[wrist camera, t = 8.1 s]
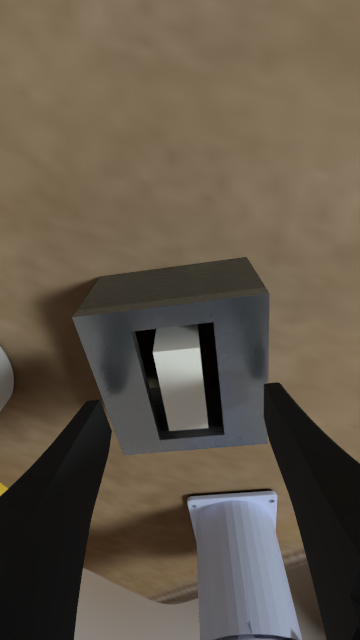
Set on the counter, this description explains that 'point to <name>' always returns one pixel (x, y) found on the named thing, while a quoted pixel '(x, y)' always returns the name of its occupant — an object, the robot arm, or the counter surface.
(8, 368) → the eye dropper bottle
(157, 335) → the block
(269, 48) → the counter surface
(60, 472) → the robot arm
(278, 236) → the counter surface
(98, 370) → the slot box
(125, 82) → the counter surface
